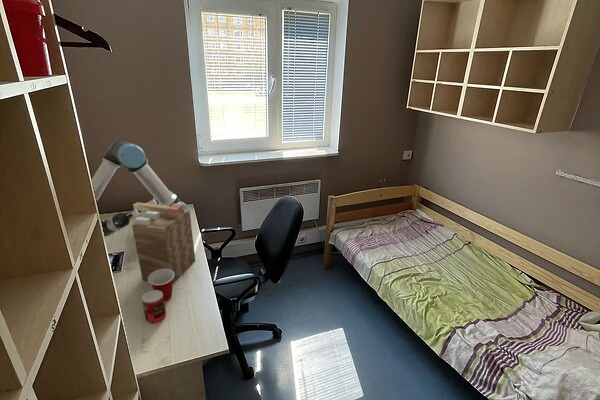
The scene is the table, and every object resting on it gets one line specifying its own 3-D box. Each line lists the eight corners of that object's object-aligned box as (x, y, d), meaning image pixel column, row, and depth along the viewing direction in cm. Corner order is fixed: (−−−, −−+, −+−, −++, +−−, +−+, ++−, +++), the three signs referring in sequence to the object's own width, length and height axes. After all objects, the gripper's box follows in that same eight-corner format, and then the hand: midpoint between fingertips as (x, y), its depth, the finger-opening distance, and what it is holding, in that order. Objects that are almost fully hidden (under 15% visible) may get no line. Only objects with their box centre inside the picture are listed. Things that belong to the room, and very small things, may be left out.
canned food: (149, 311, 140) (145, 290, 135) (168, 310, 140) (165, 289, 136) (142, 324, 132) (138, 302, 128) (163, 323, 133) (159, 301, 129)
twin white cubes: (148, 215, 158) (148, 210, 157) (160, 217, 156) (159, 212, 155) (135, 224, 149) (134, 219, 148) (147, 225, 148) (146, 220, 147)
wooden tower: (168, 256, 179) (161, 206, 168) (195, 260, 176) (189, 209, 165) (142, 280, 159) (131, 225, 148) (172, 285, 156) (163, 229, 145)
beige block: (139, 206, 167) (138, 199, 166) (184, 211, 162) (183, 204, 161) (131, 211, 162) (130, 203, 160) (177, 216, 157) (176, 209, 155)
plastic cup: (151, 308, 141) (146, 285, 137) (152, 293, 151) (148, 271, 146) (177, 303, 145) (174, 280, 140) (177, 288, 154) (174, 266, 150)
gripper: (138, 217, 182) (165, 203, 174) (104, 238, 159) (133, 223, 151) (130, 206, 180) (157, 191, 172) (95, 226, 157) (124, 209, 150)
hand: (146, 206), depth 162 cm, fingers open, 13 cm apart
